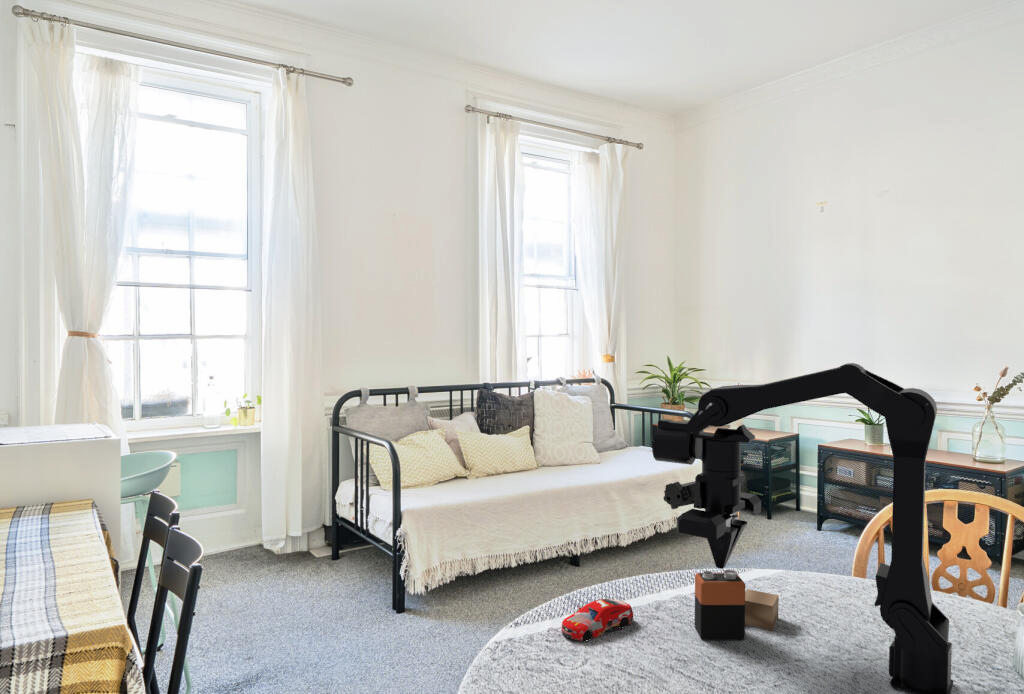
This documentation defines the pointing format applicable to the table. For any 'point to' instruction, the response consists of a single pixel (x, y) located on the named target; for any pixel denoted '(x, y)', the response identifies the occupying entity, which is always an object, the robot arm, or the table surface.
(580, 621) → the race car
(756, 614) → the walnut block
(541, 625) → the table surface
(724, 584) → the battery
